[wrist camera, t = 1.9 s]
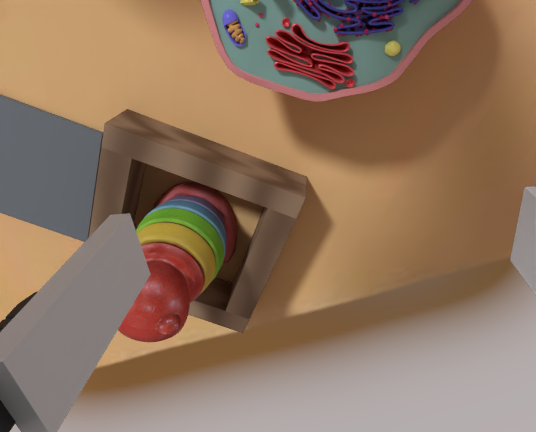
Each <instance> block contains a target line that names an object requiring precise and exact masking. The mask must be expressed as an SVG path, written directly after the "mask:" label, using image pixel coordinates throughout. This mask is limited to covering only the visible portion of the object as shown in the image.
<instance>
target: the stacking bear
mask: <svg viewBox="0 0 536 432" xmlns="http://www.w3.org/2000/svg"><path fill="white" fill-rule="evenodd" d="M136 233H137V236H138V239H139V242H140V245H141V247H142V250H143V253H144V256H145V259H146V262H147V265H148V268H149V271H150V274H151V275H150V276H149V278H148V280H147V281H146V283H145V285H144V286H143V288H142V290H141V291H140V293H139V295H138V296H137V298H136V300H135V301H134V303H133V305H132V306H131V308H130V310H129V312H128V313H127V315H126V317H125V318H124V320H123V322H122V323H121V325H120V327H119V328H118V330H119V331H120V332H121V333H122V334H123V335H125V336H127V337H129V338H131V339H134V340H137V341H142V342H157V341H162V340H165V339H168V338H171V337H172V336H174V335H176V334H177V333H178V332H179V331H180V330H181V329H182V327H183V326H184V324H185V322H186V319H187V316H188V313H189V308H190V303H191V302H192V301H194V300H195V299H196V298H197V297H198V296H199V295H200V294H201V293H202V292H203V291H204V290H205V289H206V288H207V286H208V285H209V284H210V283H211V282H212V281H213V279H214V278H215V277H216V275H217V274H218V272H219V270H220V268H221V266H222V264H223V263H226V262H228V261H229V260H230V259H231V257H232V255H233V253H234V250H235V246H236V241H237V227H236V222H235V218H234V215H233V212H232V210H231V208H230V206H229V204H228V202H227V201H226V200H225V198H224V197H223V196H222V195H221V194H219V193H218V192H217V191H215V190H214V189H212V188H210V187H208V186H205V185H202V184H197V183H183V184H179V185H176V186H174V187H172V188H170V189H169V190H168V191H166V192H165V193H164V194H163V195H162V196H161V197H160V198H159V199H158V201H157V202H156V203H155V205H154V207H153V208H152V210H151V212H149V213H148V214H147V215H146V216H145V217H144V219H143V220H142V221H141V222H140V224H139V225H138V227H137V229H136Z"/></svg>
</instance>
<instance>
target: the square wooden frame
mask: <svg viewBox="0 0 536 432" xmlns="http://www.w3.org/2000/svg"><path fill="white" fill-rule="evenodd" d="M146 164H148V165H151V166H154V167H157V168H159V169H162V170H165V171H168V172H170V173H173V174H176V175H178V176H181V177H184V178H187V179H189V180H192V181H195V182H198V183H200V184H203V185H206V186H208V187H211V188H214V189H217V190H219V191H222V192H225V193H228V194H230V195H233V196H236V197H238V198H241V199H244V200H247V201H249V202H252V203H255V204H258V205H260V206H263V207H264V210H263V212H262V214H261V217H260V219H259V222H258V224H257V227H256V229H255V232H254V234H253V237H252V239H251V241H250V244H249V246H248V249H247V251H246V254H245V256H244V259H243V261H242V264H241V266H240V268H239V271H238V273H237V276H236V278H235V281H234V283H233V284H232V283H229V282H226V281H223V280H220V279H217V278H214V279H213V281H212V282H211V283H210V284H209V285H208V286H207V288H206V289H205V290H204V291H203V292H202V293H201V294H200V295H199V296H198V297H197V298H196V299H195V300H194V301H192V302H191V303H190V308H189V313H188V315H191V316H194V317H197V318H200V319H203V320H206V321H209V322H212V323H215V324H218V325H220V326H223V327H226V328H229V329H232V330H235V331H238V332H241V333H243V332H244V330H245V328H246V325H247V323H248V321H249V319H250V317H251V315H252V313H253V310H254V308H255V306H256V304H257V302H258V300H259V298H260V295H261V293H262V291H263V289H264V287H265V285H266V283H267V280H268V278H269V276H270V274H271V272H272V270H273V268H274V265H275V263H276V261H277V259H278V257H279V255H280V253H281V250H282V248H283V246H284V244H285V242H286V240H287V237H288V235H289V233H290V231H291V229H292V227H293V225H294V222H295V220H296V218H297V216H298V214H299V212H300V210H301V207H302V205H303V203H304V201H305V199H306V185H307V177H306V176H303V175H300V174H298V173H295V172H292V171H290V170H287V169H285V168H282V167H279V166H277V165H274V164H271V163H269V162H266V161H263V160H261V159H258V158H255V157H253V156H250V155H247V154H245V153H242V152H239V151H237V150H234V149H231V148H229V147H226V146H224V145H221V144H218V143H216V142H213V141H210V140H208V139H205V138H202V137H200V136H197V135H194V134H192V133H189V132H186V131H184V130H181V129H178V128H176V127H173V126H170V125H168V124H165V123H162V122H160V121H157V120H155V119H152V118H149V117H147V116H144V115H141V114H139V113H136V112H133V111H131V110H128V109H127V110H125V111H124V112H122V113H120V114H119V115H117V116H116V117H114V118H112V119H111V120H109V121H108V122H106V123H105V125H104V132H103V139H102V147H101V154H100V161H99V168H98V175H97V182H96V189H95V197H94V204H93V211H92V218H91V225H90V232H89V237H90V236H91V235H92V234H93V233H94V232H95V231H96V230H97V228H98V227H99V226H100V225H101V224H102V223H103V222H104V221H105V220H106V219H107V218H108V217H109V216H110V215H113V214H128V213H130V215H131V218H132V221H133V223H134V219H135V214H136V209H137V204H138V199H139V195H140V190H141V185H142V180H143V175H144V171H145V166H146Z"/></svg>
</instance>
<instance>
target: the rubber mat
mask: <svg viewBox="0 0 536 432" xmlns="http://www.w3.org/2000/svg"><path fill="white" fill-rule="evenodd" d="M102 139H103V132H100V131H98V130H95V129H92V128H89V127H87V126H84V125H81V124H79V123H76V122H73V121H71V120H68V119H65V118H62V117H60V116H57V115H54V114H52V113H49V112H46V111H44V110H41V109H38V108H35V107H33V106H30V105H27V104H25V103H22V102H19V101H17V100H14V99H11V98H8V97H6V96H3V95H0V213H3V214H6V215H9V216H12V217H15V218H17V219H20V220H23V221H26V222H29V223H32V224H35V225H38V226H41V227H43V228H46V229H49V230H52V231H55V232H58V233H61V234H64V235H67V236H70V237H72V238H75V239H78V240H81V241H84V242H85V241H86V240H87V239H88V238H89V232H90V225H91V218H92V211H93V204H94V197H95V189H96V182H97V175H98V168H99V161H100V154H101V147H102Z"/></svg>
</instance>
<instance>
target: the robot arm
mask: <svg viewBox="0 0 536 432" xmlns="http://www.w3.org/2000/svg"><path fill="white" fill-rule="evenodd" d="M510 261H511V262H512V263H513V265H514V266H515V267H516V269H517V270H518V271H519V272H520V274H521V276H522V277H523V278H524V280H525V281H526V282H527V284H528V285H529V286H530V288H531V289H532V291H533V292H534V293H535V295H536V186H534V187H525V188H524V193H523V198H522V203H521V208H520V213H519V218H518V223H517V228H516V233H515V238H514V243H513V248H512V253H511V258H510ZM150 275H151V274H150V271H149V268H148V265H147V262H146V259H145V256H144V253H143V250H142V247H141V245H140V242H139V239H138V236H137V233H136V230H135V227H134V224H133V221H132V218H131V215H130V213H128V214H113V215H110V216H109V217H108V218H107V219H106V220H105V221H104V222H103V223H102V224H101V225H100V226H99V227H98V228H97V230H96V231H95V232H94V233H93V234H92V235H91V236H90V237H89V238H88V239H87V240H86V241H85V242H84V243H83V244H82V246H81V247H80V248H79V249H78V250H77V251H76V252H75V253H74V254H73V255H72V256H71V257H70V258H69V259H68V260H67V261H66V263H65V264H64V265H63V266H62V267H61V268H60V269H59V270H58V271H57V272H56V273H55V274H54V275H53V276H52V277H51V279H50V280H49V281H48V282H47V283H46V284H45V285H44V286H43V287H42V288H41V289H40V290H39V291H38V292H35V293H33V294H32V295H31V296H29V297H28V298H26V299H25V300H23V301H22V302H20V303H19V304H18V305H17V306H16V307H15V308H14V309H13V310H12V311H11V312H10V313H9V314H8V315H7V316H6V319H5V320H2V321H1V322H0V432H9V431H10V430H11V428H12V427H13V426H14V424H16V425H17V427H18V428H19V429H20V431H21V432H57V431H58V429H59V428H60V426H61V424H62V423H63V421H64V419H65V418H66V416H67V414H68V413H69V411H70V409H71V407H72V406H73V404H74V402H75V401H76V399H77V397H78V395H79V394H80V392H81V390H82V389H83V387H84V386H85V384H86V382H87V381H88V379H89V377H90V375H91V374H92V372H93V370H94V369H95V367H96V365H97V364H98V362H99V360H100V359H101V357H102V355H103V354H104V352H105V350H106V349H107V347H108V345H109V344H110V342H111V340H112V338H113V337H114V335H115V333H116V332H117V330H118V328H119V327H120V325H121V323H122V322H123V320H124V318H125V317H126V315H127V313H128V312H129V310H130V308H131V306H132V305H133V303H134V301H135V300H136V298H137V296H138V295H139V293H140V291H141V290H142V288H143V286H144V285H145V283H146V281H147V280H148V278H149V276H150Z"/></svg>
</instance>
